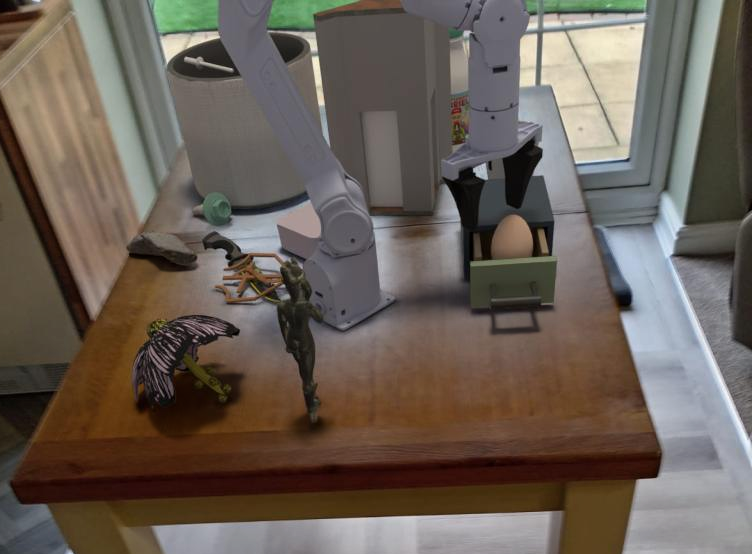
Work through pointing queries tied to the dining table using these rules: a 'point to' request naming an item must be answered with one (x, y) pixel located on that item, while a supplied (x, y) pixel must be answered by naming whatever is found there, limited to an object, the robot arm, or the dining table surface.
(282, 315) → the statue
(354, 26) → the cabinet
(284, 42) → the planter
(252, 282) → the knife
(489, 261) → the drawer
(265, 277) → the emblem
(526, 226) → the egg
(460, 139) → the milk bottle
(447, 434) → the dining table surface
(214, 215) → the screw
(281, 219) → the pinkish grey angular block
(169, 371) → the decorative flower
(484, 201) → the cabinet
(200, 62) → the rivet
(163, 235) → the stone
